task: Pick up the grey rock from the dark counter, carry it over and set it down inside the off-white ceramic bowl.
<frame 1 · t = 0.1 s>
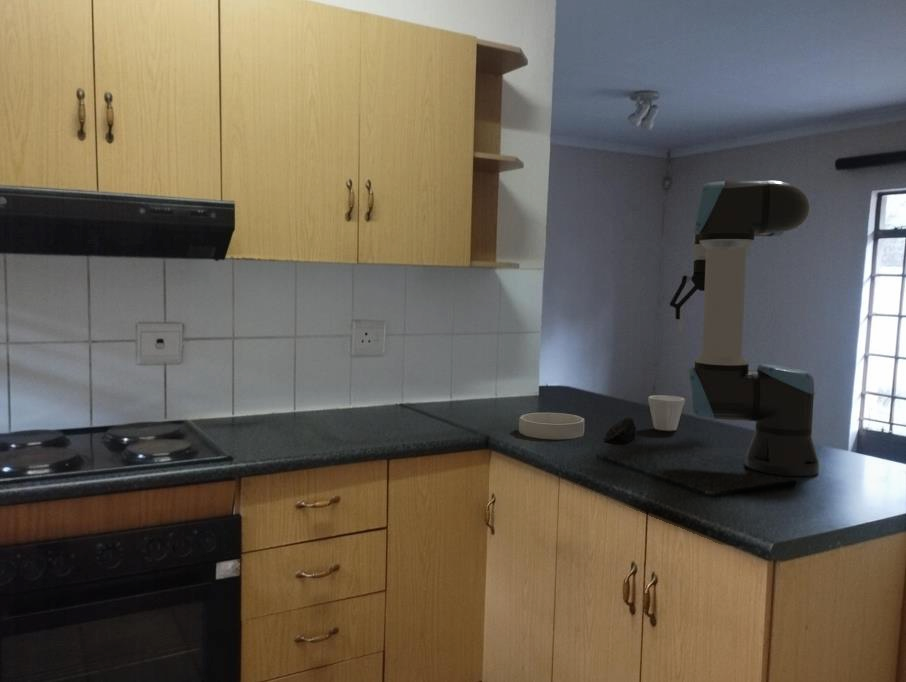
hand: (704, 331, 211), 28 cm above the countertop, fingers open, 13 cm apart
cup: (665, 430, 205), on the countertop
bowl: (551, 432, 199), on the countertop
rock: (621, 441, 190), on the countertop
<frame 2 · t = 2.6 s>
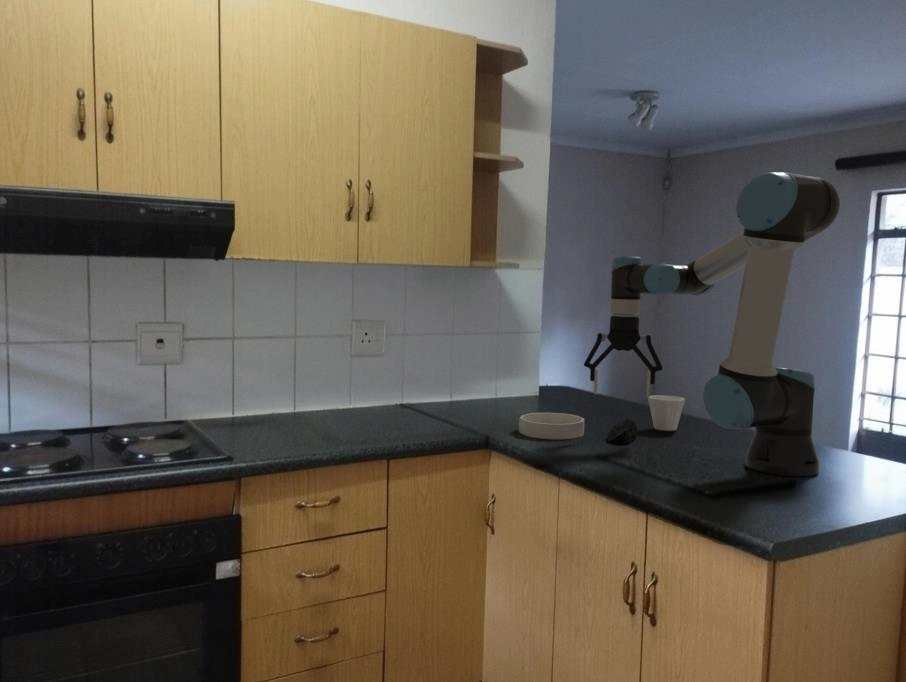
hand: (621, 395, 190), 12 cm above the countertop, fingers open, 13 cm apart
nothing on the countertop moved.
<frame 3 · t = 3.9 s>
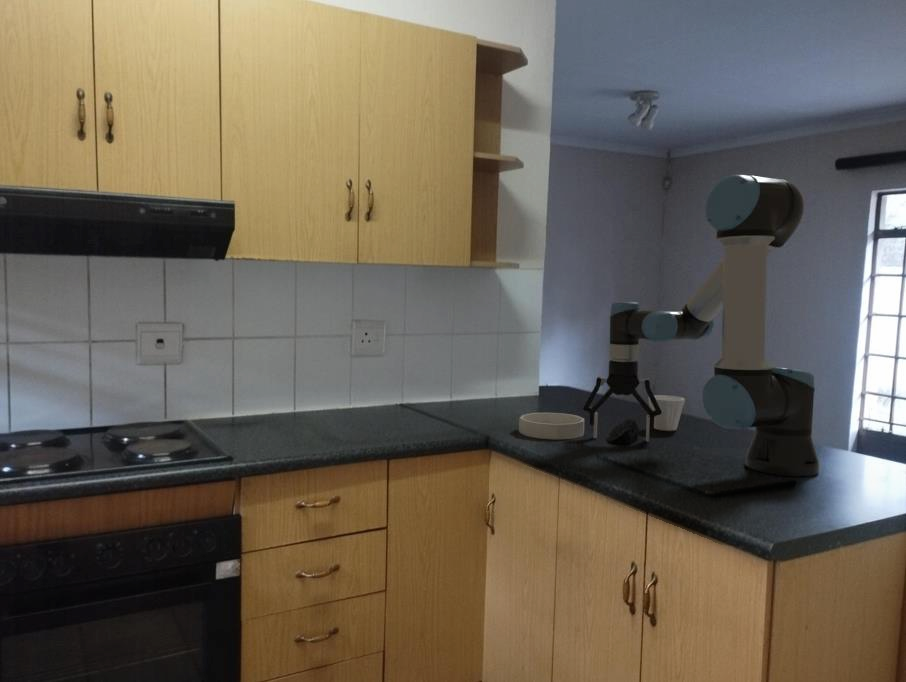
hand: (621, 439, 190), 0 cm above the countertop, fingers open, 13 cm apart
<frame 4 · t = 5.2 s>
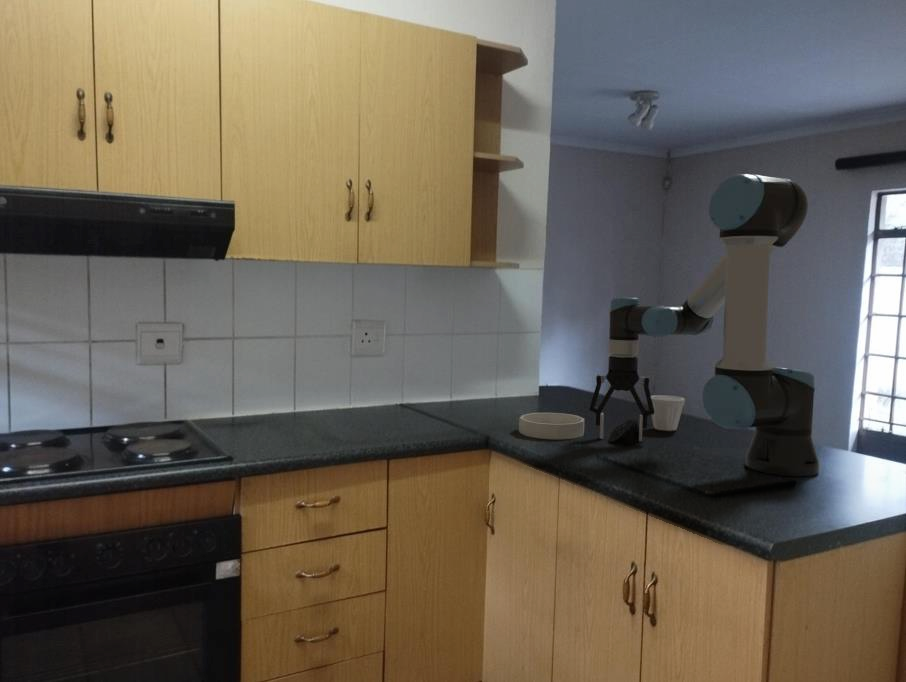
hand: (620, 438, 190), 0 cm above the countertop, fingers open, 9 cm apart
rock: (625, 442, 189), on the countertop, touching gripper
everything else where it was.
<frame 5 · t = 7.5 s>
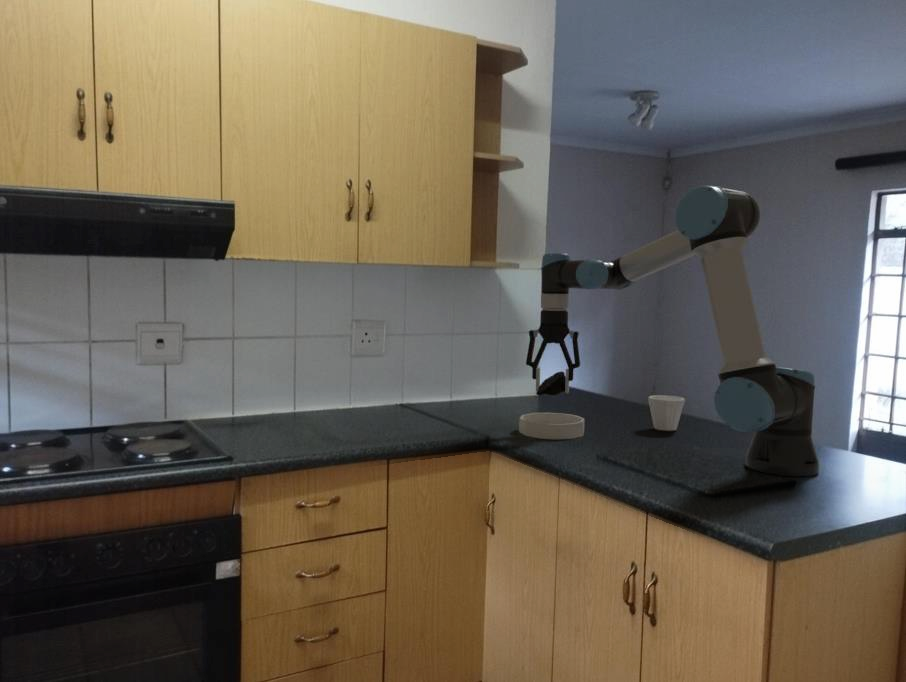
hand: (552, 391, 198), 11 cm above the countertop, fingers closed on rock, 7 cm apart
rock: (552, 394, 197), point 11 cm above the countertop, touching gripper
everything else where it was.
when the fingers open (4 cm above the countertop, at t = 9.3 s): rock drops 3 cm, resting on bowl.
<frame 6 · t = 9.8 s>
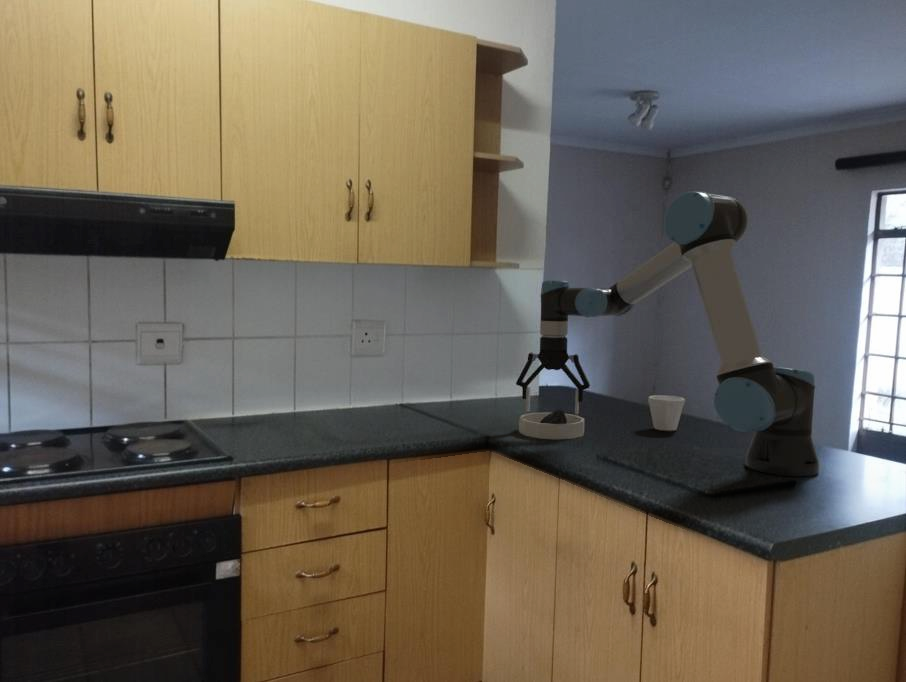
hand: (552, 412, 199), 6 cm above the countertop, fingers open, 13 cm apart
rock: (552, 432, 197), resting on bowl
everything else where it was.
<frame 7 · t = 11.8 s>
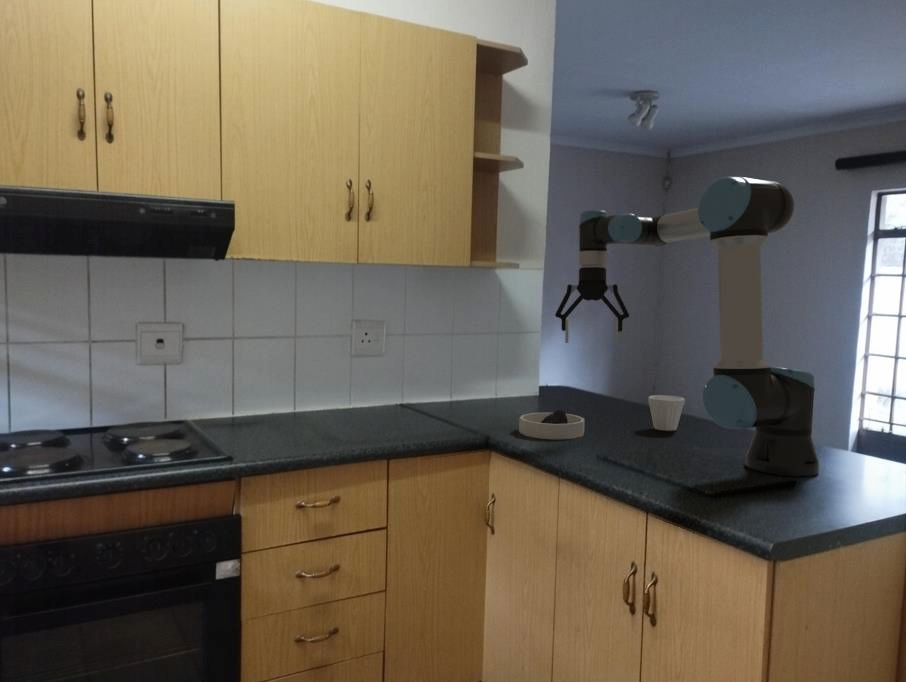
hand: (591, 343, 200), 25 cm above the countertop, fingers open, 13 cm apart
nothing on the countertop moved.
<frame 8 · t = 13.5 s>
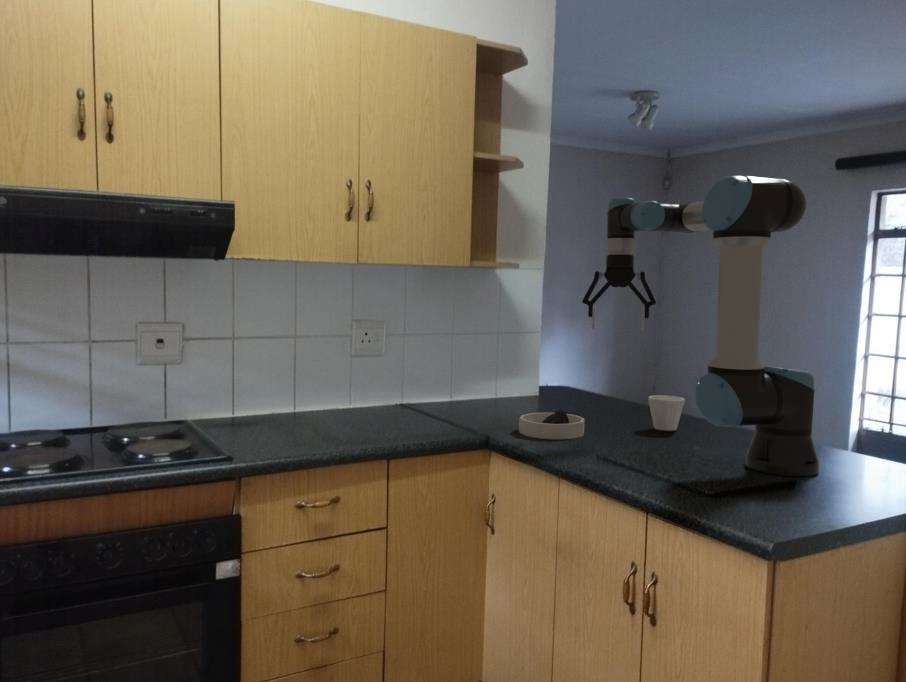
hand: (617, 329, 202), 29 cm above the countertop, fingers open, 13 cm apart
nothing on the countertop moved.
at the end: rock 2.2 cm from the bowl (horizontally); rock resting on bowl; the gripper is holding nothing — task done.
